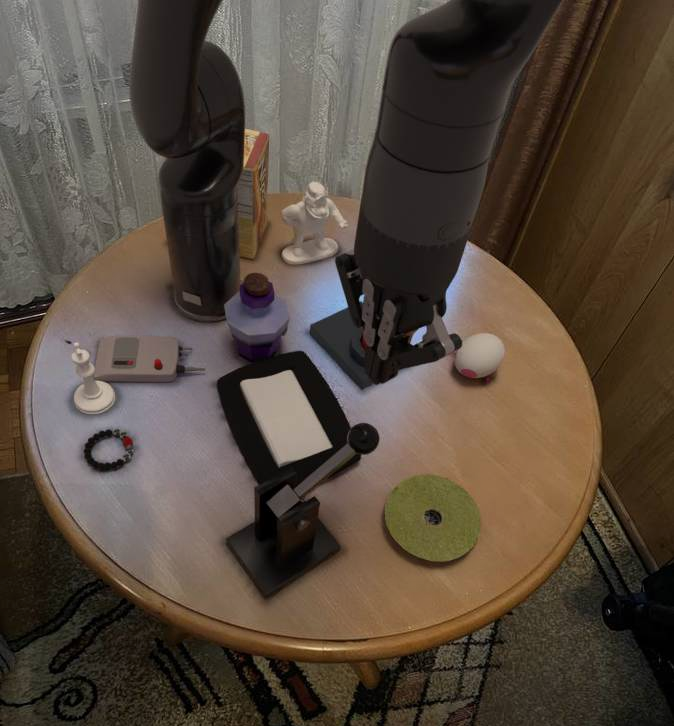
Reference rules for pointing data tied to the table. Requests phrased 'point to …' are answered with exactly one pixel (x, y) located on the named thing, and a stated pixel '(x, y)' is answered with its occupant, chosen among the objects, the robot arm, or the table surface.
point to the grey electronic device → (139, 359)
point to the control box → (343, 344)
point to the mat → (432, 517)
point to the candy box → (253, 192)
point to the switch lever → (326, 468)
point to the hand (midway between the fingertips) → (378, 375)
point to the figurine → (311, 226)
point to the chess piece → (90, 386)
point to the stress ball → (479, 355)
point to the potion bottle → (257, 318)
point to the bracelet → (107, 466)
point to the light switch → (284, 416)
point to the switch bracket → (282, 539)
